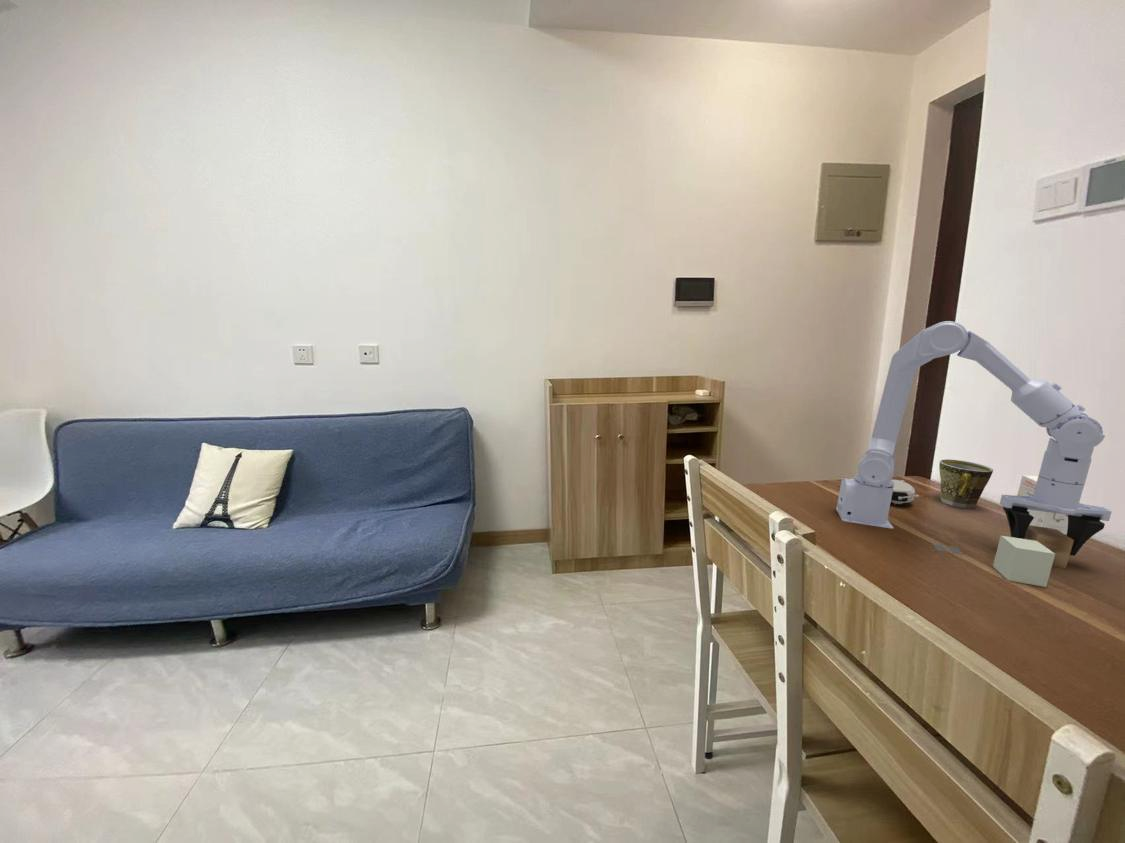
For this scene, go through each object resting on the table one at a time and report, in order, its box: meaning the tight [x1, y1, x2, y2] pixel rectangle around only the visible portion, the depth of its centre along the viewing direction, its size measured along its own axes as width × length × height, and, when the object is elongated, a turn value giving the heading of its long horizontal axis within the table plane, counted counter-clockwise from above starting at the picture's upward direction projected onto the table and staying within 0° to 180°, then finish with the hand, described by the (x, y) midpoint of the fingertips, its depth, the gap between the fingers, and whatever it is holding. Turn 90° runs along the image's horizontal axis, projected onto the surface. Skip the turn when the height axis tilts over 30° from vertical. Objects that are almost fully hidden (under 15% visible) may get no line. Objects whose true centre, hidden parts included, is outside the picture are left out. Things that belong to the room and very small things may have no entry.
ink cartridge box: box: [1016, 474, 1068, 535], centre depth 97 cm, size 9×5×15 cm, turn 168°
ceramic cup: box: [938, 458, 994, 509], centre depth 112 cm, size 13×10×10 cm
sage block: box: [992, 535, 1055, 588], centre depth 79 cm, size 5×5×6 cm
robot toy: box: [840, 477, 920, 505], centre depth 116 cm, size 12×4×15 cm
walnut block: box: [1025, 525, 1074, 569], centre depth 85 cm, size 5×5×6 cm
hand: (1042, 549), depth 85 cm, fingers open, 7 cm apart
